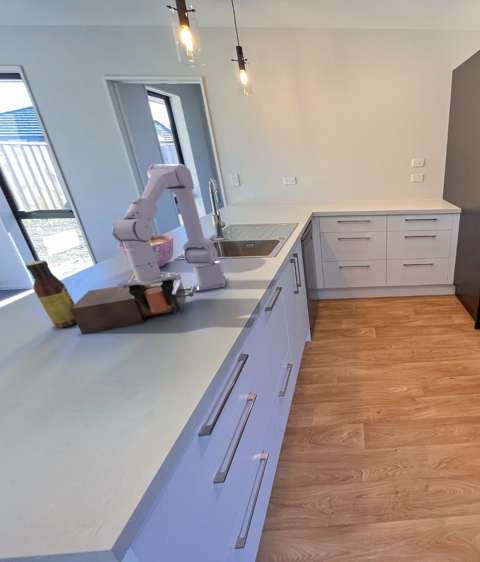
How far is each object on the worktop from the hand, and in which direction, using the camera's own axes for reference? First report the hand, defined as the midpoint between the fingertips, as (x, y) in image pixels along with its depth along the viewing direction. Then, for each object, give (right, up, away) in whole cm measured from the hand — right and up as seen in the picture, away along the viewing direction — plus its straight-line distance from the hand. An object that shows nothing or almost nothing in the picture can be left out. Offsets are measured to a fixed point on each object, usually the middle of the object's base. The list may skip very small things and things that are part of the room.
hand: (159, 306), depth 88 cm
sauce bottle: (-31, -6, +4) cm, 31 cm away
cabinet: (-17, -4, +6) cm, 18 cm away
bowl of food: (-37, +14, +48) cm, 62 cm away
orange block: (0, -1, +1) cm, 1 cm away
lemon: (-23, +3, +24) cm, 33 cm away
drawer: (-5, -1, +10) cm, 11 cm away
